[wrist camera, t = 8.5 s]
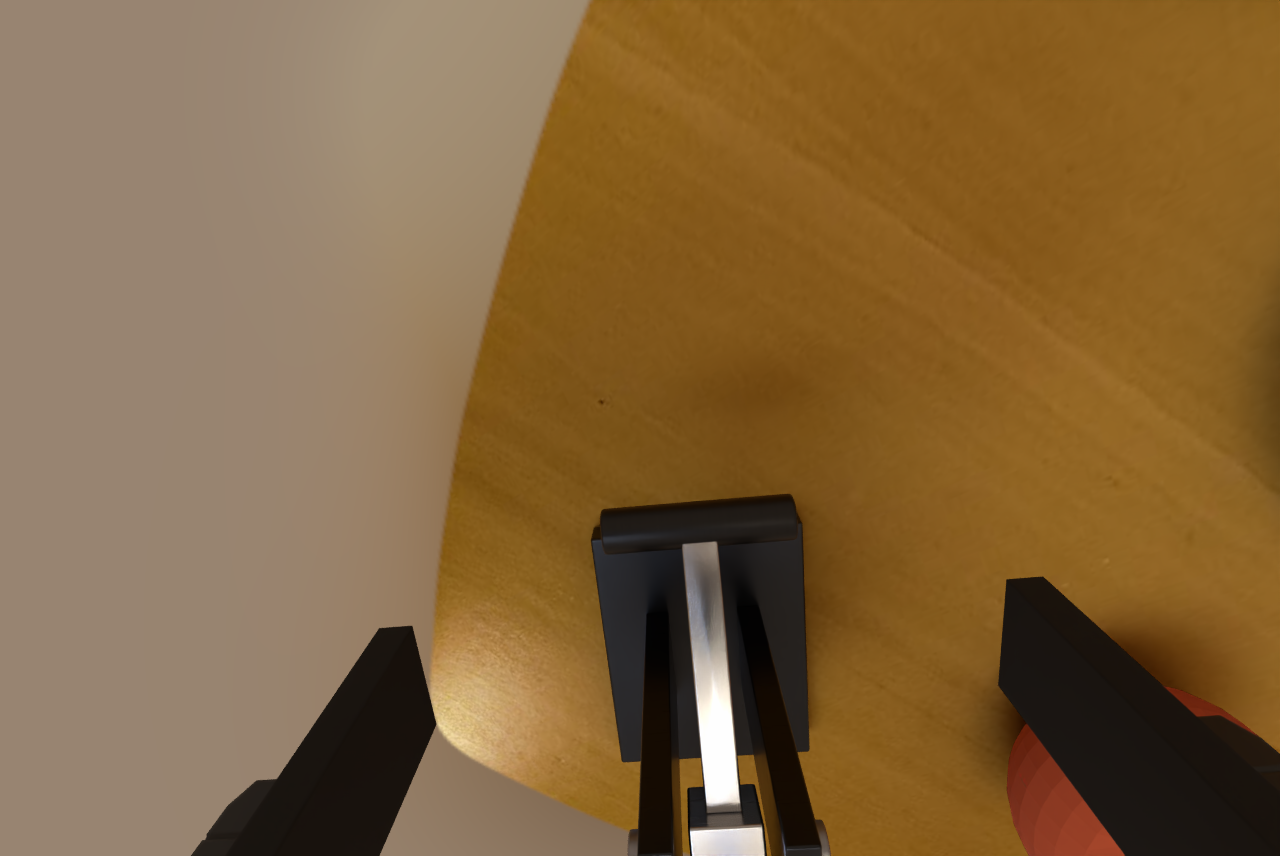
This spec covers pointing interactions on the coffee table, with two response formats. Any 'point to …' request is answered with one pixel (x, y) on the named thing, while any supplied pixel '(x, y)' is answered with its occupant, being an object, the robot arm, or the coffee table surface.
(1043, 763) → the tomato
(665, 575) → the bracket
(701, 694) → the lever
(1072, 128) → the coffee table surface
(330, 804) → the robot arm
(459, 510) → the coffee table surface
